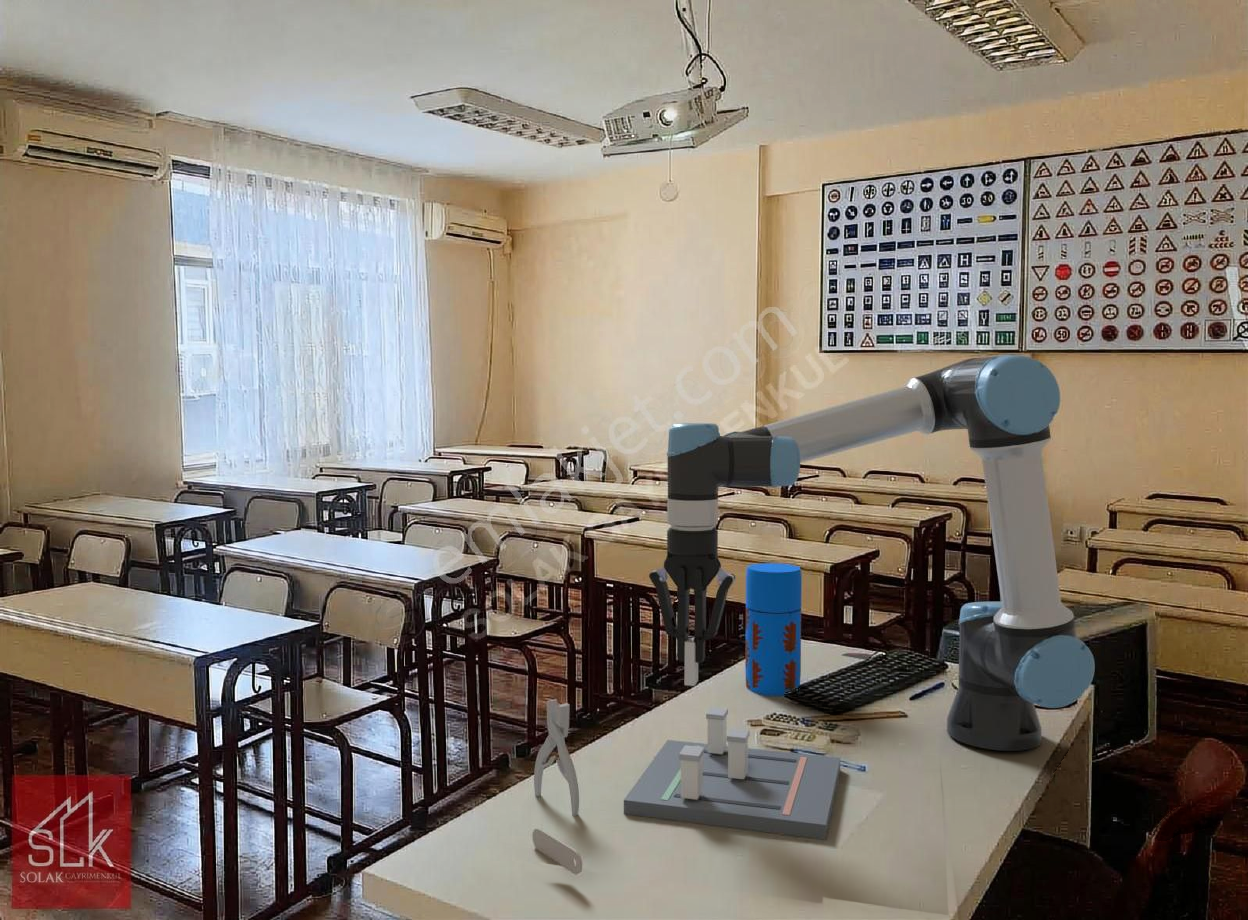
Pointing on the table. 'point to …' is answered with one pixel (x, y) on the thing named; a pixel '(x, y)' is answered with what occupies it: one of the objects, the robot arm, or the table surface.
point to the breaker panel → (742, 791)
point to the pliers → (557, 732)
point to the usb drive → (857, 655)
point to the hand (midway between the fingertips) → (691, 682)
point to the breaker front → (691, 771)
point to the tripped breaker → (737, 753)
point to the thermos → (773, 628)
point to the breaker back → (716, 729)
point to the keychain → (557, 850)
